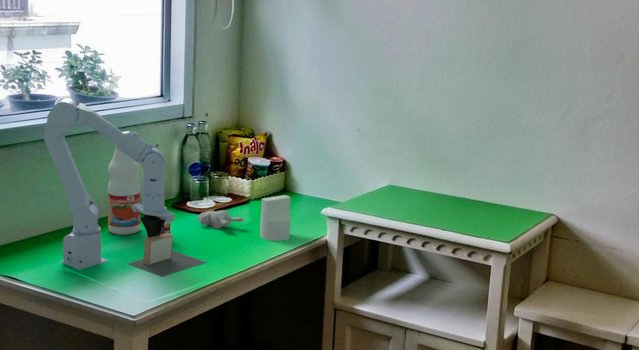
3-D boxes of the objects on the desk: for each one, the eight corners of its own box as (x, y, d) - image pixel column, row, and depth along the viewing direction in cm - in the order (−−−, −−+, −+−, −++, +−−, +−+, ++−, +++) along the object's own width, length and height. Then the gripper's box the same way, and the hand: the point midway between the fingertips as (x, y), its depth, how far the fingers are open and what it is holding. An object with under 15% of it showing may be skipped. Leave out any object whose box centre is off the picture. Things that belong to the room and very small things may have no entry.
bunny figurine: (213, 206, 269) (245, 211, 259) (214, 222, 270) (246, 227, 260) (190, 212, 262) (223, 216, 252) (191, 228, 263) (224, 233, 253)
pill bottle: (166, 245, 242) (166, 217, 240) (151, 243, 242) (151, 215, 241) (173, 240, 246) (173, 212, 244) (157, 238, 247) (157, 211, 245)
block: (148, 265, 223) (150, 241, 221) (143, 263, 224) (145, 238, 222) (171, 258, 229) (173, 235, 227) (166, 256, 230) (168, 232, 228)
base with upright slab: (271, 242, 248) (272, 203, 245) (254, 234, 255) (255, 196, 252) (295, 237, 254) (297, 199, 251) (278, 230, 260) (279, 192, 258)
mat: (161, 278, 215) (161, 276, 215) (126, 265, 224) (126, 263, 223) (207, 263, 227) (207, 262, 227) (172, 251, 236) (172, 250, 236)
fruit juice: (134, 224, 259) (133, 135, 253) (144, 233, 252) (144, 141, 245) (104, 228, 255) (102, 137, 248) (114, 236, 247) (112, 143, 241)
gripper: (183, 195, 222) (183, 244, 225) (147, 186, 231) (147, 233, 234) (162, 200, 216) (162, 250, 220) (126, 190, 225) (127, 238, 228)
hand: (153, 242), depth 226 cm, fingers closed
